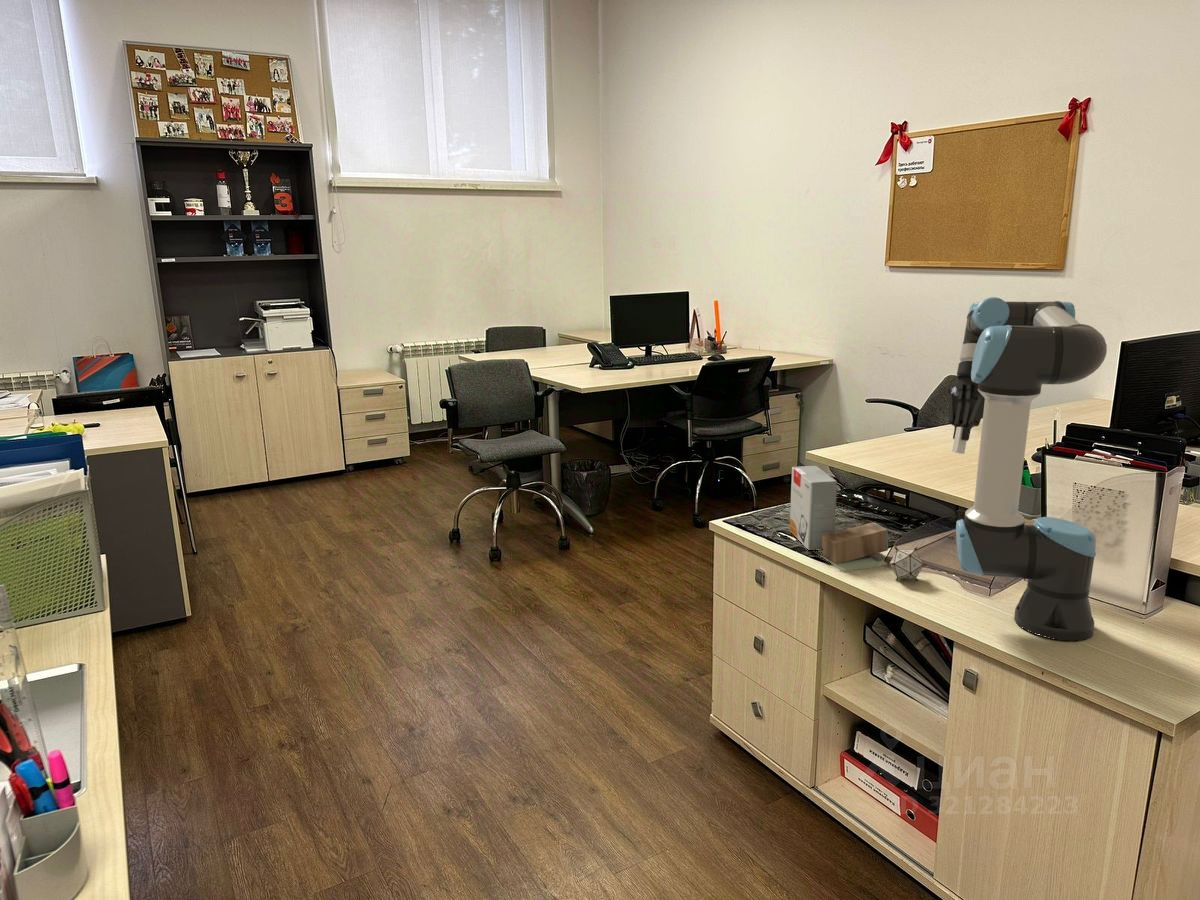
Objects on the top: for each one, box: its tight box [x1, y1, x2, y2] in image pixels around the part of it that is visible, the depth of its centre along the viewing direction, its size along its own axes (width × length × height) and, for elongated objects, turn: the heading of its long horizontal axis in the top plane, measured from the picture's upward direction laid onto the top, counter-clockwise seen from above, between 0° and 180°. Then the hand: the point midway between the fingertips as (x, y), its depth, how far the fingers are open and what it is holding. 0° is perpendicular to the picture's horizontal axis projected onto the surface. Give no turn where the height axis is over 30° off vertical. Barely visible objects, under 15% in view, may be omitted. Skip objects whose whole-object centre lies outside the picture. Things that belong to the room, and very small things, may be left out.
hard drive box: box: [789, 465, 838, 551], centre depth 225 cm, size 16×8×20 cm, turn 6°
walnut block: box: [822, 522, 889, 564], centre depth 214 cm, size 6×6×16 cm
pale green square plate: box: [816, 550, 889, 573], centre depth 214 cm, size 14×13×2 cm
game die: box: [886, 546, 928, 582], centre depth 200 cm, size 9×8×10 cm
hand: (958, 452), depth 207 cm, fingers closed
